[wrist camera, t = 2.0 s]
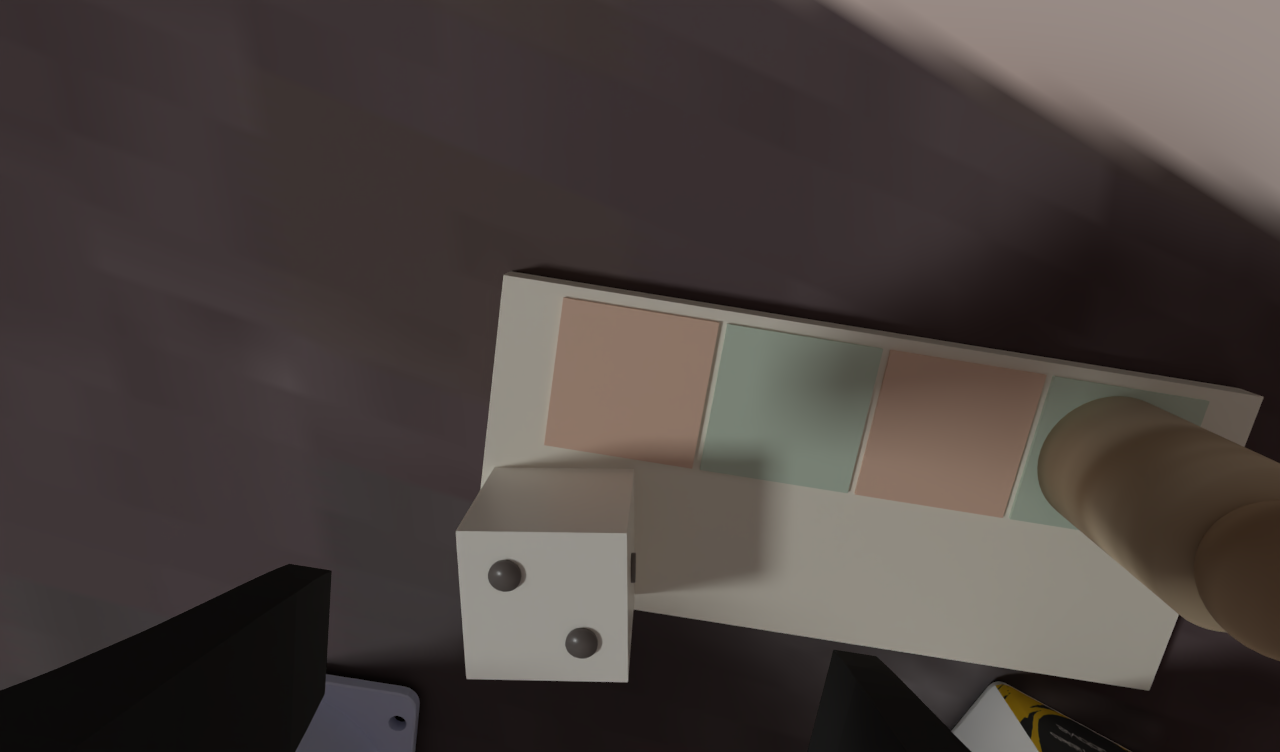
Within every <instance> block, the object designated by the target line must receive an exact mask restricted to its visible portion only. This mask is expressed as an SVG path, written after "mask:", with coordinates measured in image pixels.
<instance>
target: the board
mask: <svg viewBox="0 0 1280 752" xmlns="http://www.w3.org/2000/svg"><path fill="white" fill-rule="evenodd" d="M1112 396H1124V397H1132V398H1136V399H1140V400H1143V401H1145V402H1148V403H1150V404H1152V405H1154V406H1156V407H1159V408H1161V409H1163V410H1165V411H1167V412H1169V413H1172V414H1174V415H1176V416H1178V417H1180V418H1182V419H1185V420H1187V421H1189V422H1191V423H1193V424H1195V425H1198V426H1200V427H1202V428H1204V429H1206V430H1208V431H1211V432H1213V433H1215V434H1217V435H1219V436H1221V437H1224V438H1226V439H1228V440H1230V441H1232V442H1235V443H1237V444H1239V445H1241V446H1243V447H1245V444H1246V442H1247V439H1248V437H1249V434H1250V431H1251V429H1252V426H1253V424H1254V421H1255V419H1256V416H1257V413H1258V411H1259V408H1260V406H1261V403H1262V401H1263V398H1264V397H1263V396H1260V395H1257V394H1254V393H1251V392H1248V391H1246V390H1243V389H1240V388H1235V387H1229V386H1222V385H1216V384H1210V383H1204V382H1198V381H1191V380H1185V379H1179V378H1173V377H1166V376H1160V375H1154V374H1148V373H1141V372H1135V371H1129V370H1123V369H1117V368H1110V367H1104V366H1098V365H1092V364H1085V363H1079V362H1073V361H1067V360H1060V359H1054V358H1048V357H1042V356H1036V355H1029V354H1023V353H1017V352H1011V351H1004V350H998V349H992V348H986V347H979V346H973V345H967V344H961V343H954V342H948V341H942V340H936V339H930V338H923V337H917V336H911V335H905V334H898V333H892V332H886V331H880V330H873V329H867V328H861V327H855V326H849V325H842V324H836V323H830V322H824V321H817V320H811V319H805V318H799V317H792V316H786V315H780V314H774V313H768V312H761V311H755V310H749V309H743V308H736V307H730V306H724V305H718V304H711V303H705V302H699V301H693V300H687V299H680V298H674V297H668V296H662V295H655V294H649V293H643V292H637V291H630V290H624V289H618V288H612V287H606V286H599V285H593V284H587V283H581V282H574V281H568V280H562V279H556V278H549V277H543V276H537V275H531V274H525V273H518V272H512V271H510V272H508V273H506V274H505V275H504V277H503V286H502V295H501V304H500V314H499V323H498V332H497V341H496V351H495V360H494V369H493V378H492V388H491V397H490V406H489V415H488V425H487V434H486V443H485V452H484V462H483V471H482V480H481V488H482V487H483V485H484V484H485V482H486V480H487V479H488V477H489V475H490V474H491V472H492V470H493V469H494V467H516V468H616V469H634V549H635V553H636V581H635V597H634V610H640V611H646V612H653V613H659V614H665V615H672V616H678V617H684V618H691V619H697V620H703V621H710V622H716V623H722V624H729V625H735V626H741V627H748V628H754V629H761V630H767V631H773V632H780V633H786V634H792V635H799V636H805V637H811V638H818V639H824V640H830V641H837V642H843V643H849V644H856V645H862V646H868V647H875V648H881V649H887V650H894V651H900V652H906V653H913V654H919V655H925V656H932V657H938V658H944V659H951V660H957V661H963V662H970V663H976V664H982V665H989V666H995V667H1001V668H1008V669H1014V670H1021V671H1027V672H1033V673H1040V674H1046V675H1052V676H1059V677H1065V678H1071V679H1078V680H1084V681H1090V682H1097V683H1103V684H1109V685H1116V686H1122V687H1128V688H1135V689H1141V690H1147V691H1149V690H1150V687H1151V685H1152V682H1153V680H1154V677H1155V675H1156V672H1157V670H1158V667H1159V664H1160V662H1161V659H1162V657H1163V654H1164V652H1165V649H1166V647H1167V644H1168V641H1169V639H1170V636H1171V634H1172V631H1173V629H1174V626H1175V623H1176V621H1177V618H1178V616H1179V614H1178V613H1177V612H1175V611H1174V610H1173V609H1172V608H1171V607H1169V606H1168V605H1167V604H1166V603H1165V602H1164V601H1162V600H1161V599H1160V598H1159V597H1158V596H1156V595H1155V594H1154V593H1153V592H1152V591H1151V590H1149V589H1148V588H1147V587H1146V586H1145V585H1144V584H1142V583H1141V582H1140V581H1139V580H1138V579H1136V578H1135V577H1134V576H1133V575H1132V574H1131V573H1129V572H1128V571H1127V570H1126V569H1125V568H1123V567H1122V566H1121V565H1120V564H1119V563H1118V562H1116V561H1115V560H1114V559H1113V558H1112V557H1110V556H1109V555H1108V554H1107V553H1106V552H1105V551H1103V550H1102V549H1101V548H1100V547H1099V546H1097V545H1096V544H1095V543H1094V542H1093V541H1092V540H1090V539H1089V538H1088V537H1087V536H1086V535H1084V534H1083V533H1082V532H1081V531H1080V530H1079V529H1077V528H1076V527H1075V526H1074V525H1073V524H1071V523H1070V522H1069V521H1068V520H1067V519H1066V518H1064V517H1063V516H1062V515H1061V514H1060V513H1058V512H1057V511H1056V510H1055V509H1054V508H1053V507H1052V506H1051V505H1050V504H1049V502H1048V501H1047V500H1046V499H1045V497H1044V495H1043V493H1042V491H1041V488H1040V485H1039V481H1038V474H1037V466H1038V458H1039V454H1040V450H1041V448H1042V445H1043V443H1044V441H1045V439H1046V437H1047V436H1048V434H1049V433H1050V431H1051V430H1052V428H1053V427H1054V426H1055V425H1056V424H1057V423H1058V422H1059V421H1060V420H1061V419H1062V418H1063V417H1064V416H1065V415H1067V414H1068V413H1069V412H1071V411H1072V410H1074V409H1075V408H1077V407H1079V406H1081V405H1083V404H1085V403H1087V402H1090V401H1093V400H1096V399H1100V398H1105V397H1112ZM480 490H481V489H480Z"/></svg>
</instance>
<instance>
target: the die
mask: <svg viewBox="0 0 1280 752" xmlns="http://www.w3.org/2000/svg"><path fill="white" fill-rule="evenodd" d="M456 543H457V557H458V571H459V585H460V598H461V612H462V626H463V640H464V654H465V668H466V679H485V680H535V681H586V682H628V677H629V663H630V650H631V637H632V624H633V611H634V597H635V581H636V553H635V549H634V469H616V468H516V467H494V469H493V470H492V472H491V474H490V475H489V477H488V479H487V480H486V482H485V484H484V485H483V487H482V488H481V490H480V492H479V493H478V495H477V497H476V498H475V500H474V502H473V503H472V505H471V507H470V508H469V510H468V512H467V513H466V515H465V516H464V518H463V520H462V521H461V523H460V525H459V526H458V528H457V530H456Z"/></svg>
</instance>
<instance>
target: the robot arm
mask: <svg viewBox="0 0 1280 752" xmlns="http://www.w3.org/2000/svg"><path fill="white" fill-rule="evenodd" d="M330 589H331V571H330V570H324V569H318V568H311V567H305V566H299V565H292V564H288V565H285V566H283V567H280V568H278V569H275V570H273V571H271V572H268V573H266V574H264V575H262V576H259V577H257V578H255V579H253V580H251V581H249V582H247V583H245V584H242V585H240V586H238V587H236V588H234V589H232V590H230V591H228V592H226V593H224V594H222V595H220V596H217V597H215V598H213V599H211V600H209V601H207V602H205V603H203V604H201V605H199V606H197V607H194V608H192V609H190V610H188V611H186V612H184V613H182V614H180V615H177V616H175V617H173V618H171V619H169V620H167V621H165V622H163V623H161V624H158V625H156V626H154V627H152V628H150V629H148V630H146V631H143V632H141V633H139V634H136V635H134V636H132V637H129V638H127V639H125V640H123V641H120V642H118V643H116V644H113V645H111V646H109V647H106V648H104V649H102V650H99V651H97V652H95V653H92V654H90V655H88V656H86V657H83V658H81V659H79V660H76V661H74V662H72V663H69V664H67V665H65V666H62V667H60V668H58V669H55V670H53V671H50V672H48V673H45V674H43V675H40V676H38V677H35V678H32V679H30V680H27V681H25V682H22V683H19V684H17V685H14V686H12V687H9V688H6V689H4V690H1V691H0V752H415V750H416V739H417V728H418V718H419V707H420V701H419V697H418V695H417V694H416V692H414V691H413V690H412V689H411V688H408V687H405V686H399V685H392V684H386V683H380V682H373V681H367V680H361V679H354V678H348V677H341V676H335V675H329V674H326V664H327V645H328V627H329V608H330ZM394 716H400V717H402V718H403V719H404V720H405V721H404V722H401V721H399V720H397V719H396V718H395V717H394ZM808 752H971V751H970V750H969V749H968V748H967V747H966V746H965V745H964V744H963V743H962V742H961V741H960V740H959V739H958V738H957V737H956V736H955V735H954V734H953V733H952V732H951V731H950V730H949V729H948V728H947V727H946V726H945V725H944V724H943V723H942V722H941V720H940V719H939V718H938V717H937V716H936V715H935V714H934V713H933V712H932V711H931V710H930V709H929V708H928V707H927V706H926V705H925V704H924V703H923V702H922V701H921V700H920V699H919V698H918V697H917V696H916V695H915V694H914V693H913V692H912V691H911V690H910V689H909V688H908V687H907V686H906V685H905V684H904V683H903V682H902V681H901V680H900V679H899V678H898V677H897V676H896V675H895V674H894V673H893V672H892V671H891V670H890V669H889V668H888V667H887V666H886V665H885V664H884V663H883V662H882V661H881V660H880V659H878V658H877V657H876V656H870V655H864V654H857V653H851V652H845V651H838V650H833V654H832V658H831V662H830V666H829V670H828V674H827V678H826V682H825V685H824V689H823V693H822V697H821V701H820V705H819V709H818V713H817V717H816V720H815V724H814V728H813V732H812V736H811V740H810V744H809V748H808Z"/></svg>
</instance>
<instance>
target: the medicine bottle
mask: <svg viewBox="0 0 1280 752" xmlns="http://www.w3.org/2000/svg"><path fill="white" fill-rule="evenodd" d="M951 732H952V733H953V734H954V735H955V736H956V737H957V738H958V739H959V740H960V741H961V742H962V743H963V744H964V745H965V746H966V747H967V748H968V749H969V750H970V751H971V752H1132V751H1130V750H1128V749H1126V748H1124V747H1122V746H1121V745H1119V744H1117V743H1115V742H1113V741H1111V740H1110V739H1108V738H1106V737H1104V736H1102V735H1100V734H1099V733H1097V732H1095V731H1093V730H1091V729H1089V728H1087V727H1086V726H1084V725H1082V724H1080V723H1078V722H1076V721H1075V720H1073V719H1071V718H1069V717H1067V716H1065V715H1064V714H1062V713H1060V712H1058V711H1056V710H1054V709H1052V708H1051V707H1049V706H1047V705H1045V704H1043V703H1041V702H1040V701H1038V700H1036V699H1034V698H1032V697H1030V696H1028V695H1027V694H1025V693H1023V692H1021V691H1019V690H1017V689H1016V688H1014V687H1012V686H1010V685H1008V684H1006V683H1004V682H1000V681H997V682H993V683H991V684H990V685H989V686H988V687H987V688H986V689H985V690H984V692H983V693H982V694H981V695H980V697H979V698H978V699H977V700H976V701H975V703H974V704H973V705H972V706H971V707H970V709H969V710H968V711H967V712H966V714H965V715H964V716H963V717H962V718H961V720H960V721H959V722H958V723H957V725H956V726H955V727H954V728H953V729H952V731H951Z"/></svg>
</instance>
